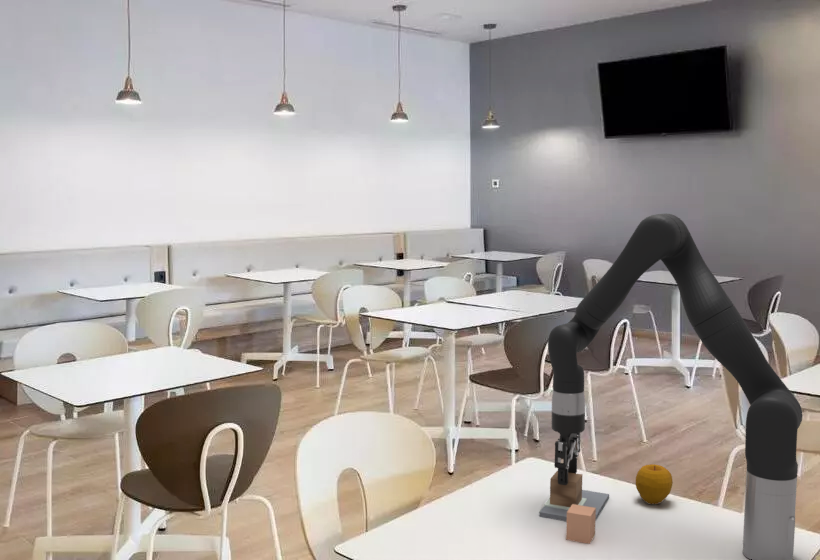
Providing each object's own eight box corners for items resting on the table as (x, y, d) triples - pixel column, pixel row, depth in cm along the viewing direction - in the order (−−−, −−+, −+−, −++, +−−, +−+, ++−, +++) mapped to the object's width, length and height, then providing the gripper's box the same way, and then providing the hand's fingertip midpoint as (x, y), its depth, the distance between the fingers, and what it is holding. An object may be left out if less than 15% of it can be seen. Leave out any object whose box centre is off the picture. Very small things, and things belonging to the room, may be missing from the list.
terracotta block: (595, 535, 172) (595, 507, 172) (589, 544, 168) (590, 516, 167) (571, 530, 175) (572, 504, 174) (566, 539, 170) (566, 512, 169)
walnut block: (581, 499, 189) (582, 474, 188) (575, 508, 184) (576, 482, 183) (556, 495, 192) (557, 470, 191) (549, 504, 186) (550, 478, 185)
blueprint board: (609, 498, 193) (609, 492, 193) (592, 525, 177) (592, 519, 177) (559, 490, 198) (559, 485, 198) (539, 516, 182) (539, 510, 182)
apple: (677, 509, 187) (679, 472, 186) (640, 509, 187) (642, 471, 186) (665, 495, 195) (667, 460, 194) (630, 495, 195) (631, 459, 194)
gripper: (577, 419, 177) (576, 491, 179) (591, 404, 190) (590, 471, 192) (543, 415, 181) (543, 486, 182) (560, 401, 193) (559, 467, 195)
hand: (567, 478), depth 187 cm, fingers open, 8 cm apart
